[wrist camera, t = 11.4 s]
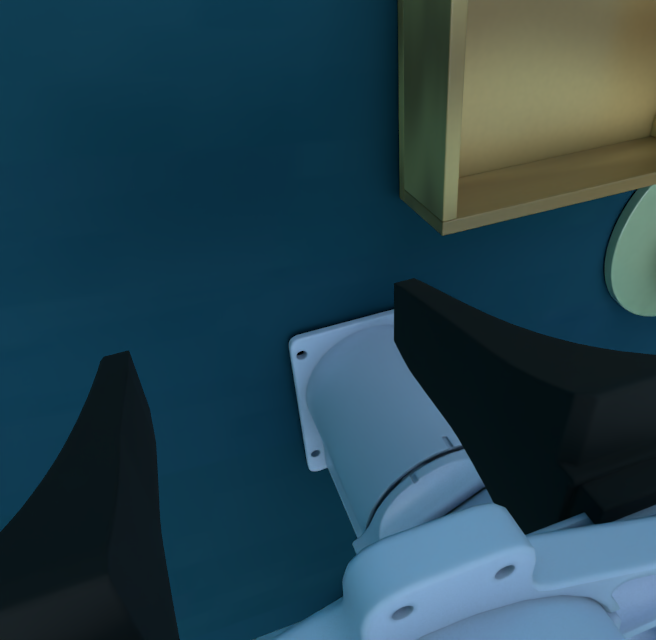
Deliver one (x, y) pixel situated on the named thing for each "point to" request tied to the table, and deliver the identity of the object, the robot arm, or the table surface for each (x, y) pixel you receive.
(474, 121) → the wooden tray
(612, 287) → the saucer
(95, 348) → the table surface
